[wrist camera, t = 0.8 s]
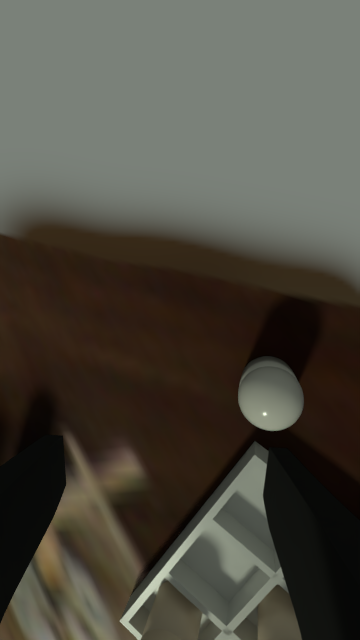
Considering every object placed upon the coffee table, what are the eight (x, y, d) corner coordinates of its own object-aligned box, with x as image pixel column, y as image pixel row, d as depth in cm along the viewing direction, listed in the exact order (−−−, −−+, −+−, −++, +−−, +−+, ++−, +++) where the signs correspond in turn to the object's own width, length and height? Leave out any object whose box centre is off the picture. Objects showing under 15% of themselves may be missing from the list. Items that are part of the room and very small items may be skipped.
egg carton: (404, 556, 23) (464, 658, 17) (248, 708, 27) (246, 843, 20) (254, 440, 26) (253, 489, 19) (131, 595, 30) (93, 681, 23)
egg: (307, 377, 25) (324, 402, 18) (274, 418, 25) (279, 456, 19) (261, 345, 25) (262, 359, 19) (231, 386, 26) (222, 412, 20)
